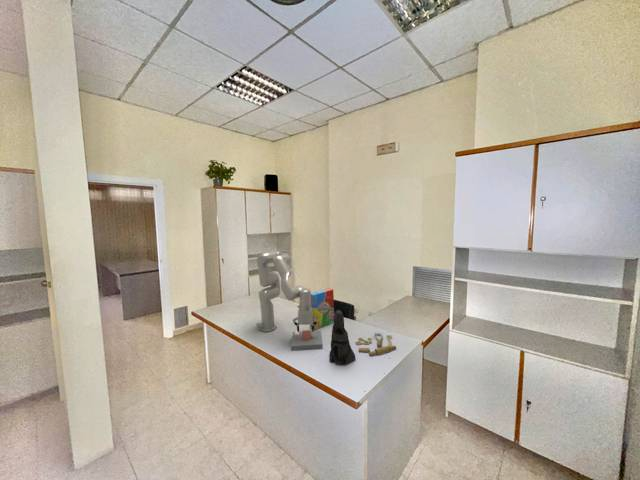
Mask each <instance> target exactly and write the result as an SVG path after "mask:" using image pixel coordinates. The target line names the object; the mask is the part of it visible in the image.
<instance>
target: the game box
mask: <svg viewBox="0 0 640 480" xmlns="http://www.w3.org/2000/svg"><path fill="white" fill-rule="evenodd" d="M334 302H335V301H334V289H333V288H330V287H329V288H325V289H321V290H319V291H314V292H311V308H312V312H313V317H315V318H317V319H318V322H317V324H316V325H315V326H314V330H313V331H317V330H319V329H321V328H324V327H326V326H329V325H331V324H334V315H335V307H334V306H335V303H334ZM315 321H316V320H314V319H313V322H315ZM309 328H310V330H312V324H309Z"/></svg>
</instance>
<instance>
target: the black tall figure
mask: <svg viewBox="0 0 640 480" xmlns="http://www.w3.org/2000/svg"><path fill="white" fill-rule="evenodd" d="M332 324H333V325H332V330H331V340H330V351H329V354H328V358H329V359H328V360H329V362H330V364H331V363H332V364H335V365H337V366H347V365H349V364H351V363H353V362H355V361H356V360H357V358H356V354H355V352H354V350H353V349H352V346H351V343H350V340H349V334H348V331H347V329H346V328H345V317H344V314H343V312H342V310H341V309H336V310H335V311H334V323H332Z"/></svg>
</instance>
